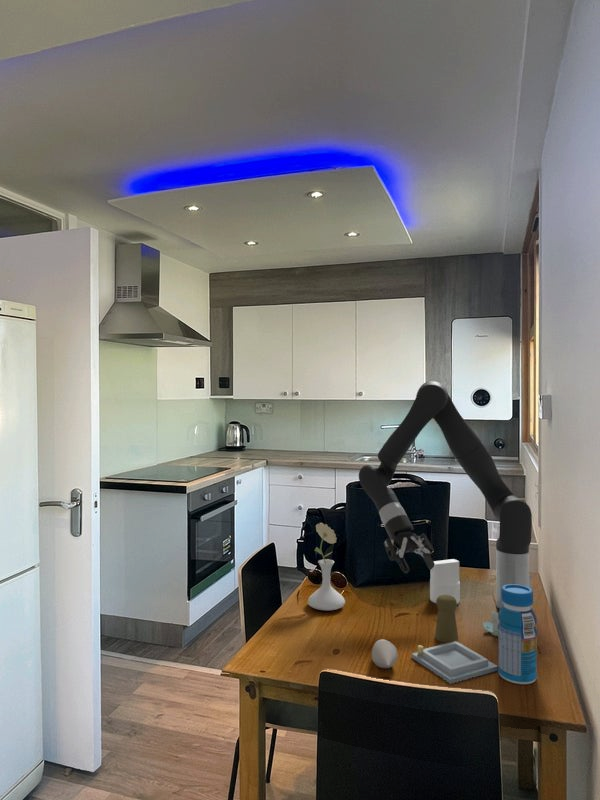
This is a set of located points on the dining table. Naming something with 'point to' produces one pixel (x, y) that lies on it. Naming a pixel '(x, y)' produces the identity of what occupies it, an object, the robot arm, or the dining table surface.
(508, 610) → the beverage bottle
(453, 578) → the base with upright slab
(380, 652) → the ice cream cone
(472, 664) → the board
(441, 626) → the cork
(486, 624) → the pacifier
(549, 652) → the dining table surface
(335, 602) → the flower in vase
